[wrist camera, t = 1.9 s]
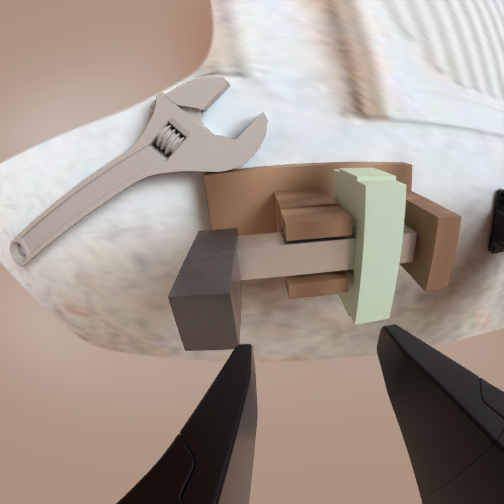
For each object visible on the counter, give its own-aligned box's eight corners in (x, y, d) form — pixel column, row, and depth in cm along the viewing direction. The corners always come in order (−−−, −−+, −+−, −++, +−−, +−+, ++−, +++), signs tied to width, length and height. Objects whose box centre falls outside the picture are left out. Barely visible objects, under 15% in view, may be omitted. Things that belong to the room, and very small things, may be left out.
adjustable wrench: (28, 263, 21) (18, 271, 19) (2, 206, 18) (-9, 212, 17) (273, 152, 17) (275, 154, 16) (240, 65, 15) (239, 58, 13)
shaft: (401, 214, 14) (468, 262, 8) (397, 254, 15) (453, 313, 9) (198, 231, 14) (168, 296, 9) (206, 272, 15) (185, 350, 10)
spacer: (366, 165, 14) (406, 180, 10) (361, 279, 17) (388, 321, 13) (333, 165, 14) (365, 180, 10) (332, 282, 17) (354, 327, 13)
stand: (403, 162, 17) (476, 187, 10) (398, 250, 20) (452, 306, 13) (206, 172, 18) (176, 202, 10) (220, 267, 21) (206, 341, 13)
